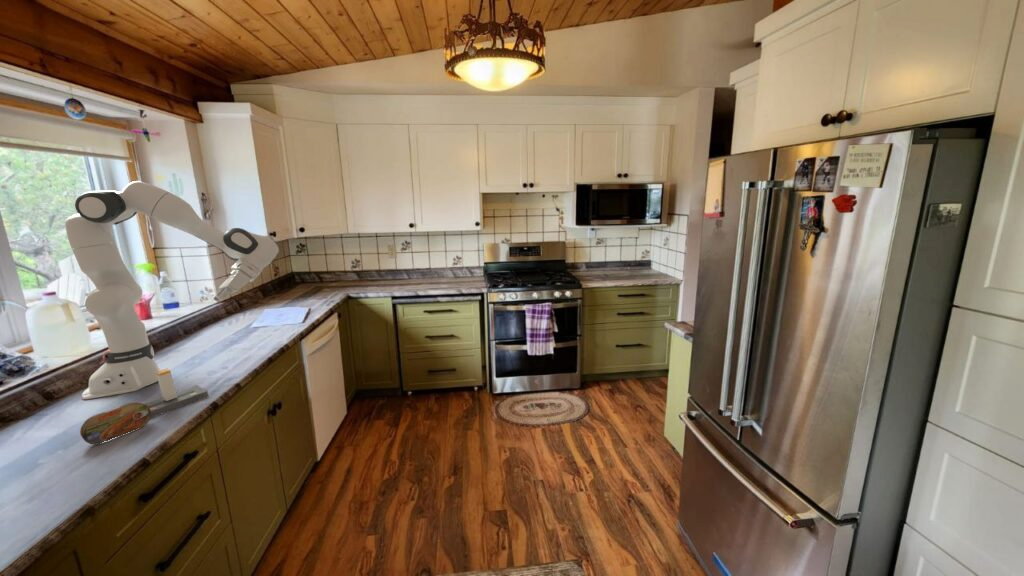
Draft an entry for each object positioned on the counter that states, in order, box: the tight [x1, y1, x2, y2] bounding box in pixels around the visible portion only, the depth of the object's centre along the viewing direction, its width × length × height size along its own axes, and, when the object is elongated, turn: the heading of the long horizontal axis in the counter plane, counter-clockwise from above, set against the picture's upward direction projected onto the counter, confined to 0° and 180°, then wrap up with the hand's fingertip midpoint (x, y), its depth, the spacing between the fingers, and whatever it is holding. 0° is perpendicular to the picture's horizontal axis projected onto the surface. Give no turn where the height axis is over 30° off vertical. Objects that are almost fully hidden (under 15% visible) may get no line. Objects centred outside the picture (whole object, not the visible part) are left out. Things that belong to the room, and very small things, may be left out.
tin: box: [79, 401, 151, 445], centre depth 119 cm, size 15×3×8 cm, turn 148°
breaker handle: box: [156, 368, 177, 401], centre depth 135 cm, size 3×3×10 cm
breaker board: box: [144, 384, 209, 419], centre depth 136 cm, size 18×9×2 cm, turn 146°
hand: (217, 300), depth 151 cm, fingers open, 8 cm apart
